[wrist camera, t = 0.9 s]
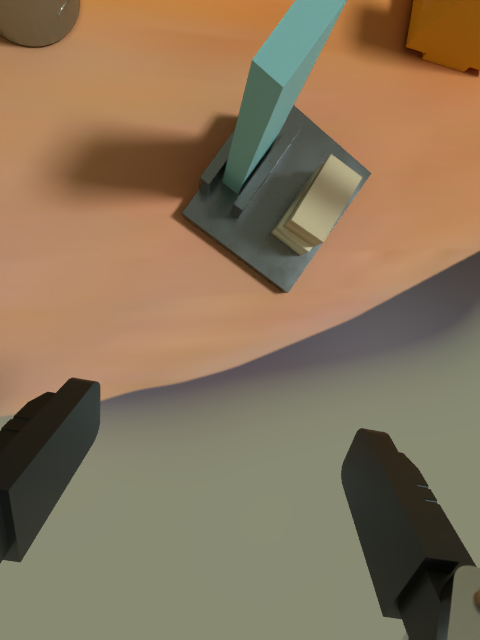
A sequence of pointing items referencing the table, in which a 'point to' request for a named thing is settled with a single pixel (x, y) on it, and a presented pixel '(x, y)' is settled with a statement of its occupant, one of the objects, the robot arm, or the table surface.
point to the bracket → (446, 32)
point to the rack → (266, 199)
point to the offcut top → (323, 201)
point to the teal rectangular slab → (277, 83)
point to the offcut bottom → (285, 234)
